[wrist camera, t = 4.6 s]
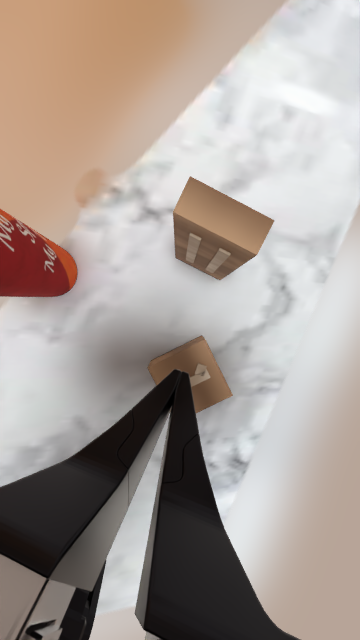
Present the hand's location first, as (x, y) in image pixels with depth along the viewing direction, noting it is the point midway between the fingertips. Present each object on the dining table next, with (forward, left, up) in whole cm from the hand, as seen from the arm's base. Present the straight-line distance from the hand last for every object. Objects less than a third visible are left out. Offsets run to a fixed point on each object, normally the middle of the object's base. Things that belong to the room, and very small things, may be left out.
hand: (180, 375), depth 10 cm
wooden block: (+6, +8, -12) cm, 15 cm away
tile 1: (-1, -4, -12) cm, 13 cm away
